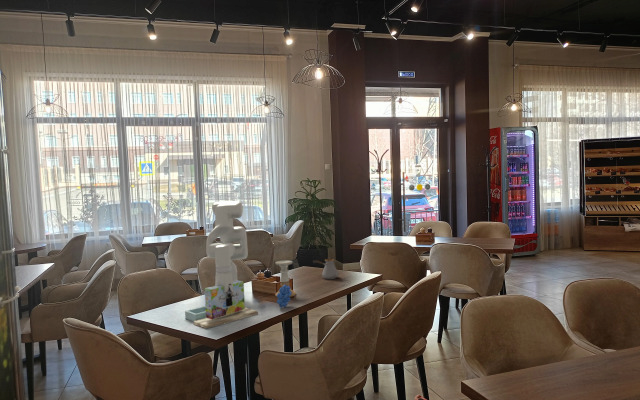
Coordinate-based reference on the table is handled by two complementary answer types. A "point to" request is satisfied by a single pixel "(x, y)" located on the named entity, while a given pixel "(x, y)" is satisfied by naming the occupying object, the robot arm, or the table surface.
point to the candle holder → (284, 275)
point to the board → (225, 318)
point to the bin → (196, 314)
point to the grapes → (283, 296)
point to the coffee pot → (329, 269)
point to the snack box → (223, 300)
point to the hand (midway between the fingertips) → (225, 304)
